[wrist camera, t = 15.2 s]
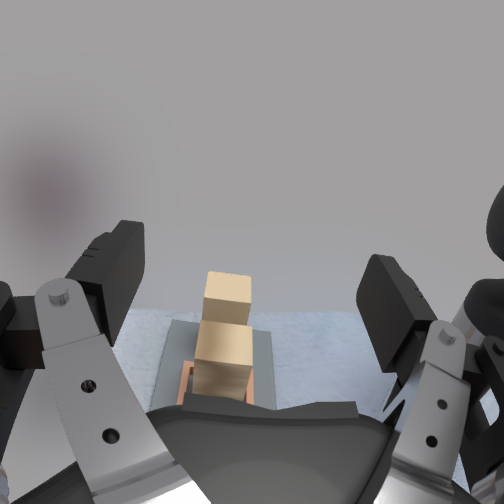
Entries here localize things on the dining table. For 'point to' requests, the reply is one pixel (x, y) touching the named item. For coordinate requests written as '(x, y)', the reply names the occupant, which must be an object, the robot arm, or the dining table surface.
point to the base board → (185, 340)
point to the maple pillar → (223, 360)
